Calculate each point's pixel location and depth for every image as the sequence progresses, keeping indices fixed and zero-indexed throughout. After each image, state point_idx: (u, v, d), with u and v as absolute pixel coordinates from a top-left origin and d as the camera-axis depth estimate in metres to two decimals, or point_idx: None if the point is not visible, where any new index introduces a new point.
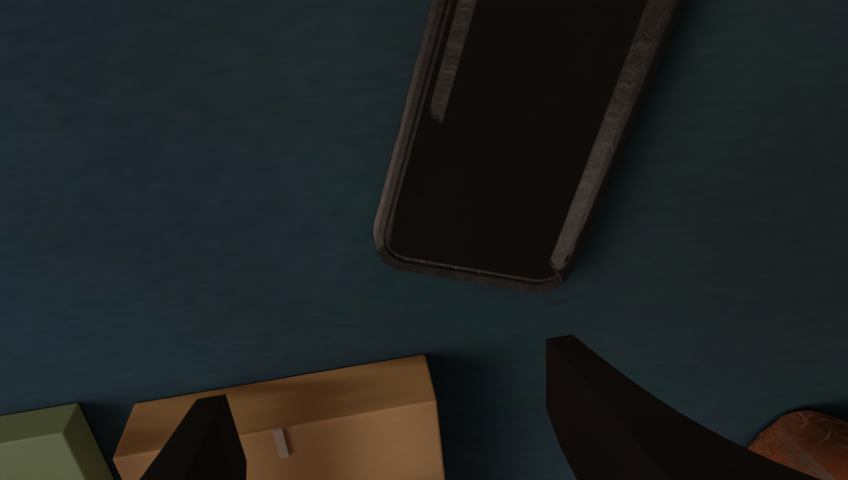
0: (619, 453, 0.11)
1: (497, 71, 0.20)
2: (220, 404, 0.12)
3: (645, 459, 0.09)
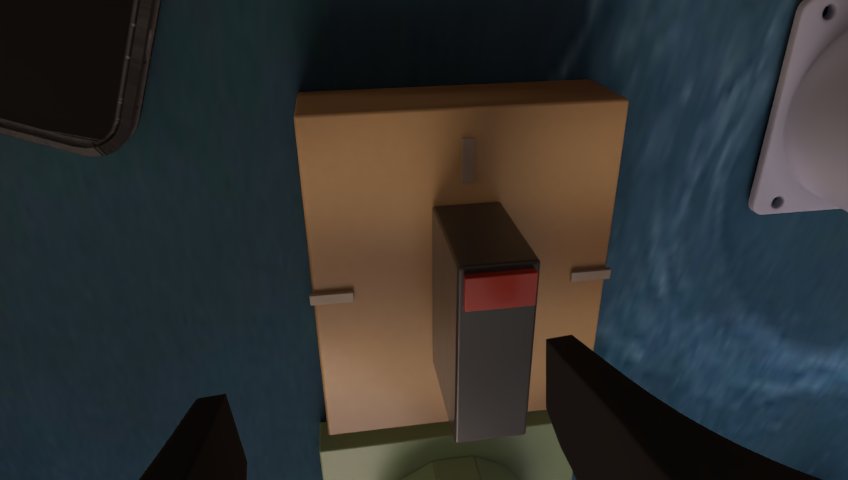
0: (619, 453, 0.11)
1: None
2: (220, 404, 0.12)
3: (645, 459, 0.09)
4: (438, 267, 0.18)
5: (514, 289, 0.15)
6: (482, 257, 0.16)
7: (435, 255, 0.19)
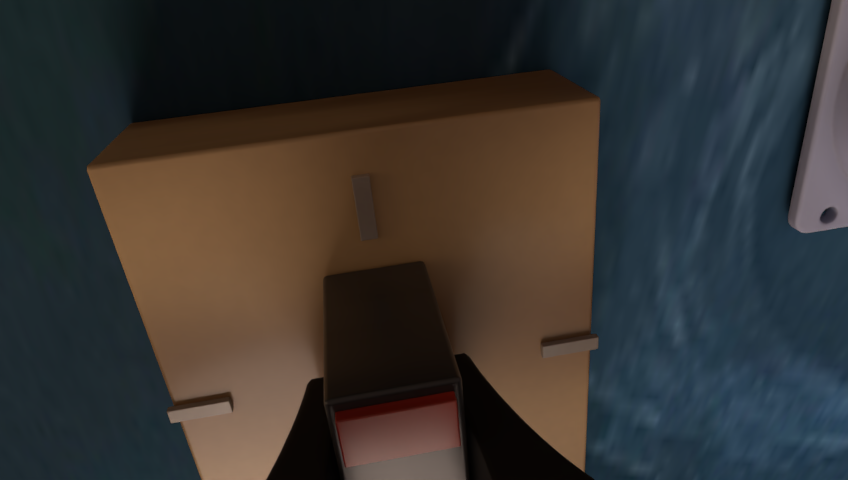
0: None
1: None
2: None
3: None
4: None
5: (421, 428, 0.10)
6: (368, 378, 0.10)
7: None
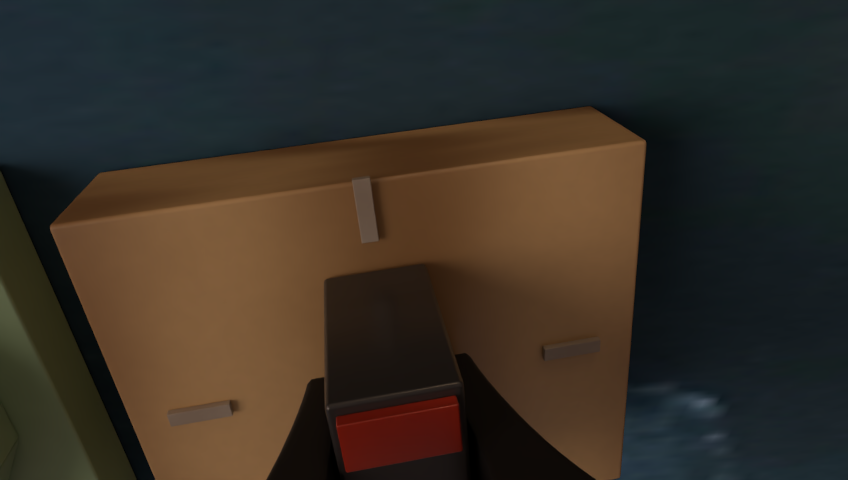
0: (484, 479, 0.10)
1: None
2: None
3: None
4: None
5: (423, 433, 0.09)
6: (368, 382, 0.10)
7: None
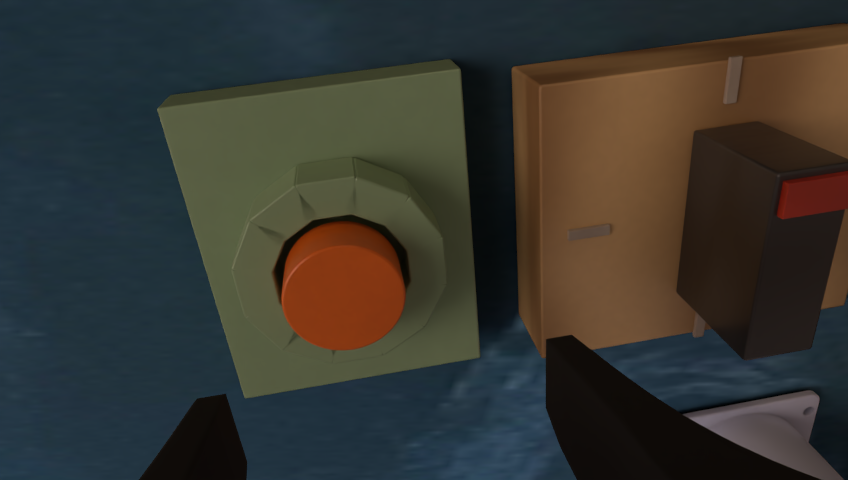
0: (620, 454, 0.11)
1: None
2: (220, 404, 0.12)
3: (646, 459, 0.09)
4: (709, 189, 0.18)
5: (833, 192, 0.15)
6: (794, 164, 0.16)
7: (700, 179, 0.19)
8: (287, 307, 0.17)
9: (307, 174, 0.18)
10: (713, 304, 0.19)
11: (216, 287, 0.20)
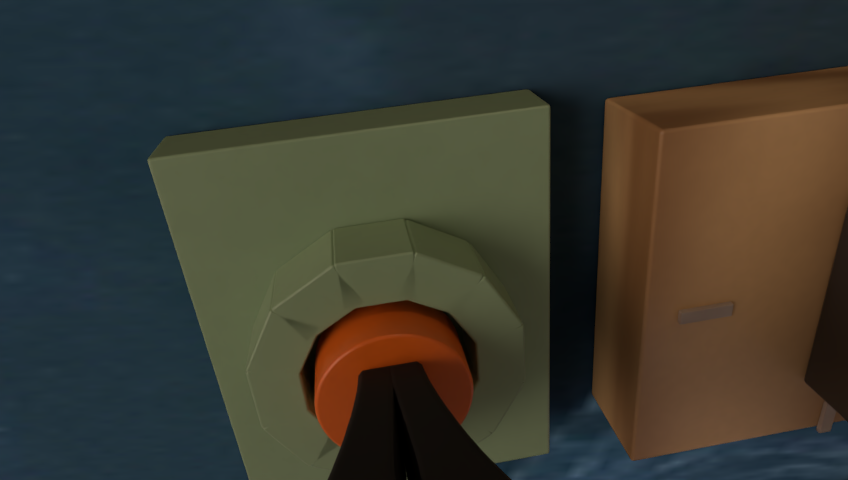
0: None
1: None
2: (390, 375, 0.13)
3: None
4: None
5: None
6: None
7: None
8: (322, 411, 0.13)
9: (348, 246, 0.13)
10: None
11: (224, 380, 0.16)
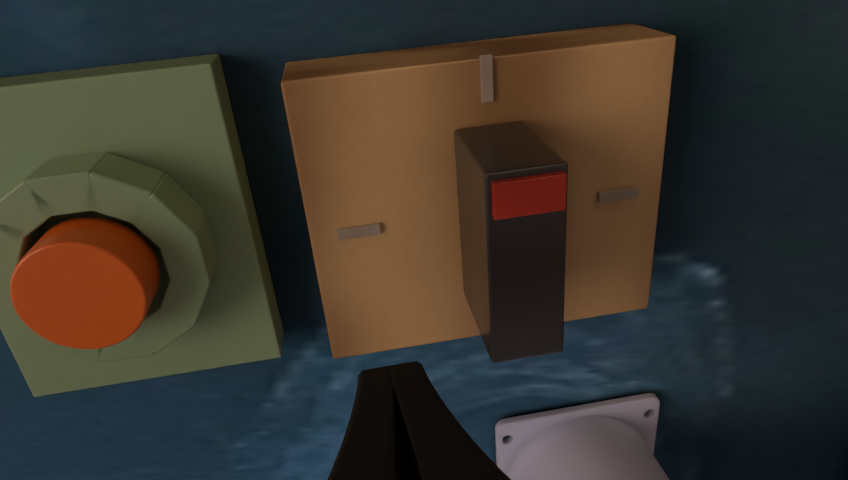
0: None
1: None
2: (391, 375, 0.13)
3: None
4: (464, 189, 0.18)
5: (543, 193, 0.15)
6: (508, 164, 0.15)
7: (460, 178, 0.19)
8: (18, 305, 0.17)
9: (47, 169, 0.17)
10: (476, 305, 0.19)
11: None
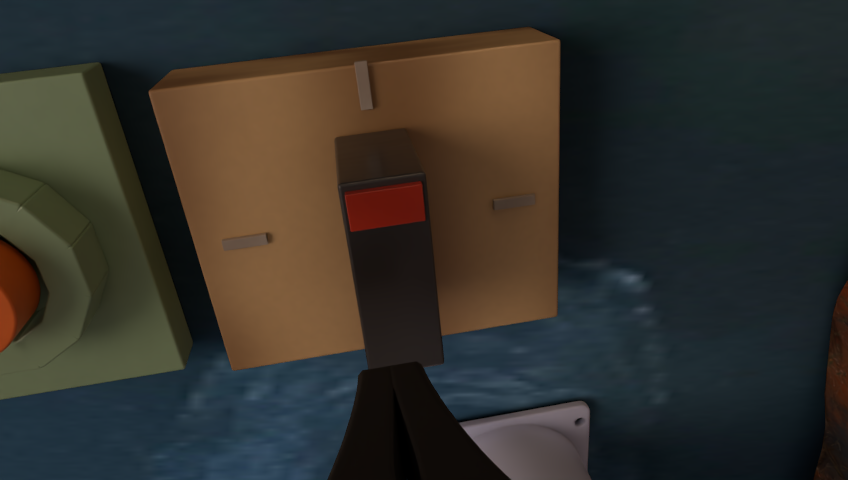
0: None
1: None
2: (391, 375, 0.13)
3: None
4: None
5: (399, 204, 0.15)
6: (365, 174, 0.15)
7: None
8: None
9: None
10: None
11: None
